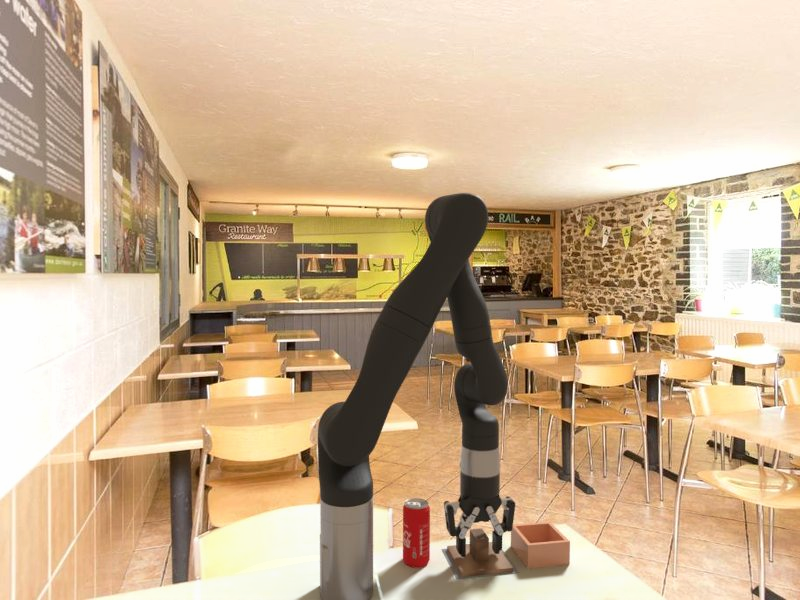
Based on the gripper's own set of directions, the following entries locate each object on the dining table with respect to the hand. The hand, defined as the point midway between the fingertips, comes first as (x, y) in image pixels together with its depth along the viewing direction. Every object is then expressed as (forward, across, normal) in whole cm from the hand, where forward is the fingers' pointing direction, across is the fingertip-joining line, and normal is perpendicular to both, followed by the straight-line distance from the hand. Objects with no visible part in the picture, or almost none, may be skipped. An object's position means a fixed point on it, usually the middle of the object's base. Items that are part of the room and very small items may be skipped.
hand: (479, 553), depth 106 cm
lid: (+2, 0, 0) cm, 2 cm away
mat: (+2, 0, 0) cm, 2 cm away
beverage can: (+2, -12, +2) cm, 12 cm away
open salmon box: (+2, +12, 0) cm, 13 cm away
